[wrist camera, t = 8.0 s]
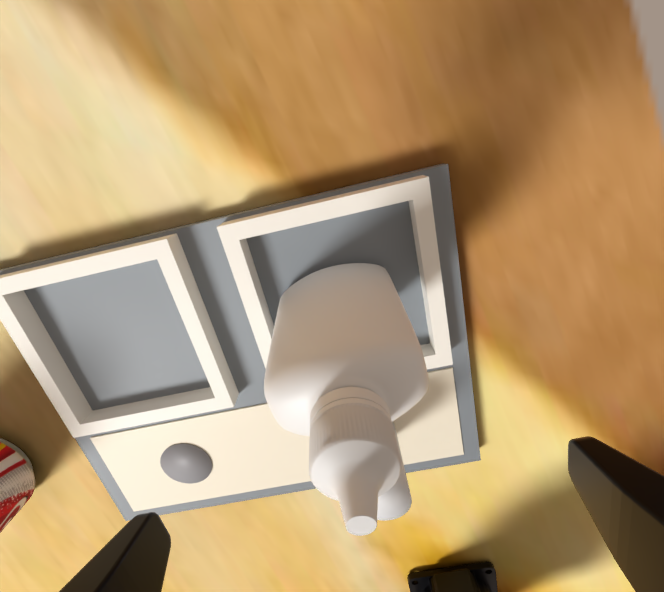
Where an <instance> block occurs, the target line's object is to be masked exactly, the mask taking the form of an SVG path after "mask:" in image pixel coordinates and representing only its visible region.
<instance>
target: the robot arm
mask: <svg viewBox="0 0 664 592" xmlns="http://www.w3.org/2000/svg"><path fill="white" fill-rule="evenodd" d="M568 471H569V475H570V477H571V480H572V482H573V484H574V486H575V487H576V489H577V491H578V493H579V495H580V497H581V499H582V500H583V502H584V504H585V506H586V508H587V510H588V511H589V513H590V515H591V517H592V519H593V521H594V522H595V524H596V526H597V528H598V530H599V532H600V533H601V535H602V537H603V539H604V541H605V543H606V544H607V546H608V548H609V550H610V552H611V553H612V555H613V557H614V559H615V560H616V562H617V564H618V565H619V567H620V568H621V570H622V571H623V573H624V575H625V576H626V578H627V579H628V581H629V582H630V584H631V585H632V587H633V588H634V590H635V591H636V592H664V476H663V475H661V474H659V473H657V472H655V471H654V470H652V469H650V468H648V467H646V466H645V465H643V464H641V463H639V462H637V461H635V460H634V459H632V458H630V457H628V456H626V455H625V454H623V453H621V452H619V451H617V450H616V449H614V448H612V447H610V446H608V445H606V444H605V443H603V442H601V441H599V440H597V439H595V438H593V437H582V438H576V439H572V440H570V441H569V444H568ZM170 547H171V538H170V535H169V533H168V531H167V529H166V528H165V526H164V524H163V522H162V521H161V519H160V517H159V515H158V514H157V513H155V512H149V513H143V514H139V515H136V516H135V517H134V518H133V519H131V520H130V521H129V522H128V523H127V524H126V525H125V526H124V527H123V528H122V529H121V530H120V531H119V532H118V533H117V534H116V535H115V536H114V537H113V538H112V539H111V540H110V541H109V542H108V543H107V544H106V545H105V546H104V547H103V548H102V549H101V550H100V551H99V552H98V553H97V554H96V555H95V556H94V557H93V558H92V559H91V560H90V561H89V562H88V563H87V564H86V565H85V566H84V567H83V568H82V569H81V570H80V571H79V572H78V573H77V574H76V575H75V576H74V577H73V578H72V579H71V580H70V581H69V582H68V583H67V584H66V585H65V586H64V587H63V588H62V589H61V590H60V591H59V592H161V590H162V586H163V581H164V576H165V571H166V567H167V562H168V557H169V552H170ZM407 578H408V584H409V588H410V592H498V591H497V581H496V572H495V569H494V566H493V564H492V563H491V562H482V563H476V564H469V565H462V566H455V567H449V568H442V569H435V570H429V571H422V572H415V573H411V574H409V575H408V577H407Z"/></svg>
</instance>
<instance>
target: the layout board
mask: <svg viewBox="0 0 664 592" xmlns="http://www.w3.org/2000/svg"><path fill="white" fill-rule="evenodd" d="M349 263H369V264H376V265H379V266H381V267H384V268H385V269H386V271H387V272H388V274H389V275H390V278H391V280H392V282H393V284H394V286H395V289H396V291H397V293H398V295H399V297H400V300H401V302H402V304H403V306H404V309H405V311H406V313H407V315H408V318H409V320H410V322H411V324H412V327H413V329H414V331H415V334H416V336H417V338H418V341H419V343H420V346H421V349H422V352H423V356H424V360H425V364H426V368H427V373H428V379H429V384H428V389H427V392H426V394H425V395H424V396H423V398H422V399H421V400H420V401H419V402H418V403H417V404H416V405H414V406H413V407H412V408H411V409H410V410H408V411H407V412H406V413H404V414H403V415H401V416H400V417H399V418H397V419H396V420H394V421H392V425H393V429H394V433H395V437H396V441H397V445H398V449H399V453H400V458H401V464H402V470H401V474H400V477H399V478H398V480H397V482H396V483H395V484H394V486H393V487H392V488H391V489H390V490H389V491H387V492H386V493H385V494H383V495H381V496H379V497H378V509H377V520H393V519H396V518H399V517H401V516H402V515H404V514H405V513H406V512H407V511H408V510H409V508H410V506H411V502H412V500H411V495H410V490H409V486H408V482H407V477H406V473H408V472H414V471H420V470H426V469H432V468H438V467H444V466H449V465H455V464H461V463H467V462H473V461H479V460H481V459H480V450H479V441H478V432H477V423H476V414H475V405H474V395H473V386H472V377H471V368H470V359H469V350H468V341H467V332H466V322H465V313H464V304H463V295H462V286H461V277H460V268H459V259H458V249H457V240H456V231H455V222H454V213H453V204H452V195H451V185H450V176H449V167H448V164H444V163H443V164H439V165H435V166H430V167H426V168H422V169H418V170H414V171H410V172H405V173H401V174H397V175H393V176H389V177H384V178H380V179H376V180H372V181H368V182H363V183H359V184H355V185H351V186H347V187H343V188H338V189H334V190H330V191H326V192H322V193H317V194H313V195H309V196H305V197H301V198H297V199H292V200H288V201H284V202H280V203H276V204H271V205H267V206H263V207H259V208H255V209H251V210H246V211H242V212H238V213H234V214H230V215H225V216H221V217H217V218H213V219H209V220H205V221H200V222H196V223H192V224H188V225H184V226H179V227H175V228H171V229H167V230H163V231H158V232H154V233H150V234H146V235H142V236H138V237H133V238H129V239H125V240H121V241H117V242H112V243H108V244H104V245H100V246H96V247H92V248H87V249H83V250H79V251H75V252H71V253H66V254H62V255H58V256H54V257H50V258H46V259H41V260H37V261H33V262H29V263H25V264H20V265H16V266H12V267H8V268H4V269H0V320H1V322H2V323H3V325H4V326H5V328H6V330H7V331H8V333H9V335H10V336H11V338H12V339H13V341H14V343H15V344H16V346H17V347H18V349H19V351H20V352H21V354H22V356H23V357H24V359H25V360H26V362H27V364H28V365H29V367H30V369H31V370H32V372H33V373H34V375H35V377H36V378H37V380H38V381H39V383H40V385H41V386H42V388H43V390H44V391H45V393H46V394H47V396H48V398H49V399H50V401H51V403H52V404H53V406H54V407H55V409H56V411H57V412H58V414H59V415H60V417H61V419H62V420H63V422H64V424H65V425H66V427H67V428H68V430H69V432H70V433H71V435H72V437H73V438H75V439H76V441H77V443H78V444H79V446H80V447H81V449H82V451H83V452H84V454H85V456H86V457H87V459H88V460H89V462H90V464H91V465H92V467H93V469H94V470H95V472H96V473H97V475H98V477H99V478H100V480H101V482H102V483H103V485H104V486H105V488H106V490H107V491H108V493H109V494H110V496H111V498H112V499H113V501H114V503H115V504H116V506H117V507H118V509H119V511H120V512H121V514H122V516H123V517H124V519H125V520H126V521H128V520H131V519H133V518H134V517H135V516H136V515H139V514H143V513H149V512H155V513H157V514H158V515H163V514H169V513H175V512H181V511H187V510H192V509H198V508H204V507H210V506H216V505H222V504H227V503H233V502H239V501H245V500H251V499H257V498H262V497H268V496H274V495H280V494H286V493H292V492H298V491H303V490H309V489H315V486H314V485H313V483H312V482H311V479H310V476H309V438H310V437H309V436H303V435H299V434H295V433H292V432H289V431H287V430H285V429H283V428H282V427H281V426H280V425H279V424H278V423H277V421H276V419H275V418H274V416H273V414H272V412H271V410H270V408H269V406H268V403H267V401H266V398H265V394H264V378H265V372H266V366H267V360H268V355H269V350H270V345H271V340H272V335H273V330H274V325H275V320H276V316H277V311H278V306H279V301H280V298H281V296H282V295H283V293H284V292H285V291H286V290H287V289H288V288H289V287H290V286H292V285H293V284H294V283H296V282H297V281H299V280H300V279H302V278H304V277H305V276H307V275H309V274H311V273H314V272H316V271H318V270H321V269H324V268H327V267H331V266H335V265H341V264H349Z"/></svg>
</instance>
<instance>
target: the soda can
mask: <svg viewBox="0 0 664 592" xmlns="http://www.w3.org/2000/svg"><path fill="white" fill-rule="evenodd" d="M34 489H35V476H34V473H33V467H32V464H31V462H30V460H29V458H28V457H27V456H26V454H25V453H24V452H23V451H22V450H21V449H19V448H18V447H17V446H15V445H14V444H12V443H10V442H9V441H7V440H4V439H2V438H0V532H1V531H2V530H3V529H4V528H5V527H6V526H7V524H8V523H9V522H10V521H11V520H12V519H13V517H14V516H15V515H16V514H17V513H18V512H19V510H20V509H21V508H22V507H23V506H24V505H25V503H26V502H27V501H28V500H29V499H30V497H31V496H32V494H33V491H34Z"/></svg>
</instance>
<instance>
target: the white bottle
mask: <svg viewBox="0 0 664 592" xmlns="http://www.w3.org/2000/svg"><path fill="white" fill-rule="evenodd" d="M428 384H429V379H428V373H427V368H426V364H425V360H424V356H423V352H422V349H421V346H420V343H419V341H418V338H417V336H416V334H415V331H414V329H413V327H412V324H411V322H410V320H409V318H408V315H407V313H406V311H405V309H404V306H403V304H402V302H401V300H400V297H399V295H398V293H397V291H396V289H395V286H394V284H393V282H392V280H391V278H390V275H389V274H388V272H387V271H386V269H385V268H384V267H381V266H379V265H376V264H369V263H349V264H341V265H335V266H331V267H327V268H324V269H321V270H318V271H316V272H314V273H311V274H309V275H307V276H305V277H304V278H302V279H300V280H299V281H297V282H296V283H294V284H293V285H292V286H290V287H289V288H288V289H287V290H286V291H285V292H284V293H283V295H282V296H281V298H280V301H279V306H278V311H277V316H276V320H275V325H274V330H273V335H272V340H271V345H270V350H269V355H268V360H267V366H266V372H265V378H264V394H265V398H266V401H267V403H268V406H269V408H270V410H271V412H272V414H273V416H274V418H275V419H276V421H277V423H278V424H279V425H280V426H281V427H282V428H283V429H285V430H287V431H289V432H292V433H295V434H299V435H303V436H309V437H310V438H309V476H310V479H311V482H312V483H313V485H314V486H315V488H317V489H318V491H320V492H321V493H322V494H324V495H325V496H327V497H329V498H331V499H334V500H337V501H339V503H340V507H341V511H342V514H343V518H344V522H345V526H346V529H347V531H348V532H349V533H351V534H353V535H359V536H361V535H367V534H370V533H371V532H373V531H374V530H375V529H376V527H377V509H378V497H379V496H381V495H383V494H385V493H386V492H387V491H389V490H390V489H391V488H392V487H393V486H394V484H395V483H396V482H397V480H398V478H399V477H400V474H401V470H402V464H401V458H400V453H399V449H398V445H397V441H396V437H395V433H394V429H393V425H392V421H394V420H396V419H397V418H399V417H400V416H401V415H403V414H404V413H406V412H407V411H408V410H410V409H411V408H412V407H413V406H414V405H416V404H417V403H418V402H419V401H420V400H421V399H422V398H423V396H424V395H425V394H426V392H427V389H428Z"/></svg>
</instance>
